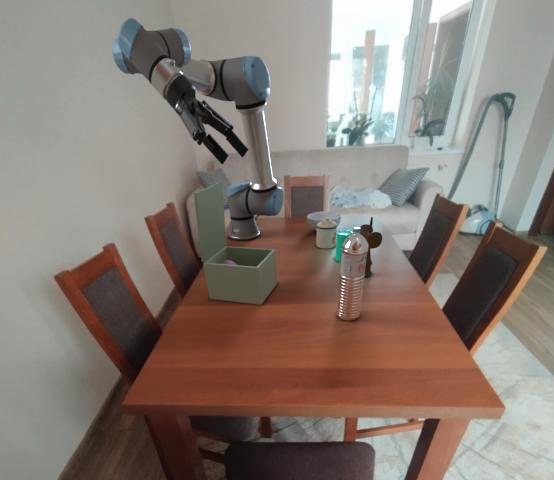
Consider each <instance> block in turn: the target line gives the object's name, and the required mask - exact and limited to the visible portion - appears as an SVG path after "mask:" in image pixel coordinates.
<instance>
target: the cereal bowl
mask: <svg viewBox="0 0 554 480" xmlns="http://www.w3.org/2000/svg"><path fill="white" fill-rule="evenodd" d="M325 218H329V220H331V221H332V222H335V223H337V227H339V225H340V224H341V220H342V215H341V213H340V212H337V211H329V210H328V211H327V210H325V211H324V210H323V211H315V212H311V213H309V214H307V216H306V223H307V225H308V227H309V228H310V229H311V230H314V231H315V232H317V227H316V225H317V224H318V223H319V222H322V221H323V220H325Z"/></svg>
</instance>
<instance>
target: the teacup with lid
mask: <svg viewBox="0 0 554 480" xmlns="http://www.w3.org/2000/svg"><path fill="white" fill-rule="evenodd" d="M316 227H317V231H316V239H315V241H316V242H315V243H316V244H315V245H316V247H317V248H319V249H325V250H327V249H333V248H336V241H337V232H338V226H337V223H335V222H332V221H331V220H329V218H325V220H323V221H322V222H319V223H318V224H317V225H316Z"/></svg>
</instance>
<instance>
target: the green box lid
mask: <svg viewBox="0 0 554 480" xmlns="http://www.w3.org/2000/svg"><path fill="white" fill-rule="evenodd" d="M223 189H224V187H223V182H222V181H218V182H217V183H214V184H211V185H210V186H207V187H205V188H202V189H200V190H197V191H195V192H193V197H194V199H193V200H194V207H195V216H196V217H195V218H196V225H197V226H196V227H197V233H198V243H199V250H200V258H201V259H200V261H201V263H204V262H206V261H207V260H208V259H209V258H211V257H212V256H213V255H215V254H216V253H217V252H219V251H220V250H221V249H222V248H224V247H225V246H227V237H226V236H227V234H226V233H227V232H226V220H225V219H226V218H225V204H224V190H223Z"/></svg>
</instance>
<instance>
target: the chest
mask: <svg viewBox="0 0 554 480" xmlns="http://www.w3.org/2000/svg"><path fill="white" fill-rule="evenodd" d="M276 253H277V252H276V249H274V248H260V247H245V246H244V247H243V246H227V245H226V246H224V247H223V248H222V249H220V250H219V251H218V252H216V253H215V254H214V255H212V256H211V257H210V258H209V259H207V260H206V261H205V262H202V266H203V270H204V271H203V272H204V275H205V281H206V286H207V292H208V296H209V300H213V301H214V300H215V301H223V302H233V303H242V304H251V305H258V306H259V305H260V306H261V305H262V304H263V303H264V302H265V300H267V298H268V297H269V296H270V294H271V293H272V291H273V290H274V289H275V288H276V286H277V285H278V274H277V255H276ZM226 260H229V261H232V262H234V263H236V264H237V265H228V264H222V263H223V262H224V261H226Z"/></svg>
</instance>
